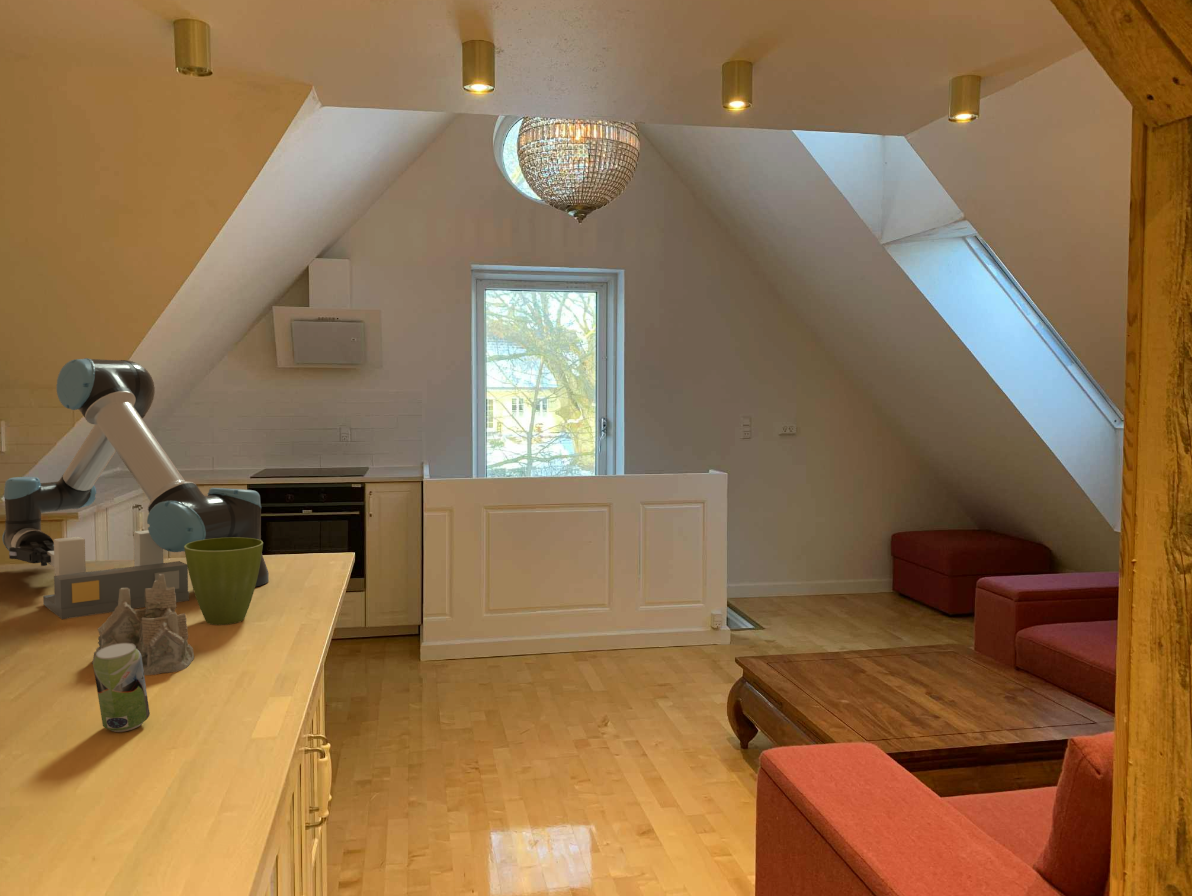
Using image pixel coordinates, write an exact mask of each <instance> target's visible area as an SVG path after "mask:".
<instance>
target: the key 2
mask: <svg viewBox="0 0 1192 896" xmlns="http://www.w3.org/2000/svg"><path fill="white" fill-rule="evenodd" d="M133 554H134V556H133V561H134V563H133V565H134V566H142V565H151V564H159V563H164V549H162V548H161V547H159V546H158V545H157V544H156V543H155V542H154V541H153V539H152V538H151V536H150V534H149V531H148V529H147V530H139V531H138V530H135V531H133ZM134 566H133V567H134Z"/></svg>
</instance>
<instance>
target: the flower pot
mask: <svg viewBox="0 0 1192 896" xmlns="http://www.w3.org/2000/svg"><path fill="white" fill-rule="evenodd" d="M263 546H264V542H263V540H262V539H261V540H259V539H254V538H241V537H228V538H213V539H204V540H198V541H194V542H190V543H188V544H186V545H185V546H184V549H185V552H184V553H185V554H184V555H185V560H186V564H187V567H188V576H189V579H190V582H191V586H192V588H193V592H194V596H195V598H196V601H197V605H198V607H199V608H200V612H201V614H202V616H203V619H204V620H205V622H206V623H207V624H209V625H217V626H223V625H224V626H225V625H232V624H237V623H240V622H242V621H244V620H245V618H246V616H247V614H248V610H249V607H250V605H251V603H252V602H251V601H252V598H253V595H254V591H255V588H256V587H255V585H256V581H257V577H258V573H259V568H260V562H261V555H263V553H262V552H263Z"/></svg>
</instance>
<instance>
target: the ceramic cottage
mask: <svg viewBox="0 0 1192 896" xmlns="http://www.w3.org/2000/svg"><path fill="white" fill-rule="evenodd" d="M176 609H177V602H176V595H175V588H174V587H170V588H168V587H167V586H166V581H165V576H164V574H159V575H158V580H155V581H154V584H153V587H152V588H146V589H145V607H144V608H137V609H133V608H131V599H130V589H129V588H121V589H119V600H118V606H117V607H116V608H115V611H113V612H111V614H110V616H108V617H107V619H106V620H105V622H103V623H102V624H101V625H100V627H97V631H98V634H99V636H98V638H97V639H98V642H97V644H98V645H99V646H98V647H97V648H95V649H96V650H95V651H94V652H93V658H92V663H91V664H92V665H93V663H94V660H95V658H96V657H97V656H96V654H97V652H98V651H99V650H100V649H102V648H104V647H106V646H109V645H113V644H117V643H132V644H134V645H135V647H136V649H137V650H139V652H140V653H141V657H142V664H143V671H144V676H152V675H154V676H155V675H158V674H162V673H167V674H169V673H175V672H179V671H183V670H185V669H187V668H188V667H189V665H191V663H192V662H193V661H194V659H195V655H194V654H195V653H194V648H193V646H191V644H189V643H188V639H189V633H188V624H187V621H188V619H187V616H186V613H185V612H184V613H180V614H177V611H176Z"/></svg>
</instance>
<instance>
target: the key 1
mask: <svg viewBox="0 0 1192 896" xmlns="http://www.w3.org/2000/svg"><path fill="white" fill-rule="evenodd" d="M53 542H54V567H53V568H54V576H58V575H66V574H75V573H83V572H87V571H86V569H87V567H86V539H85V538H83V537H81V536H74V537H73V536H71V537H64V538H62V537H61V538H53Z"/></svg>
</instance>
